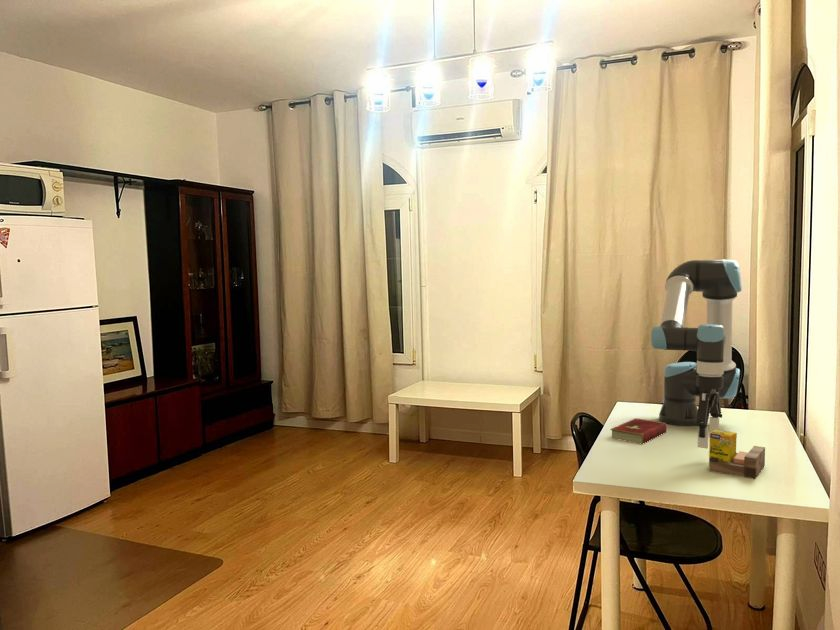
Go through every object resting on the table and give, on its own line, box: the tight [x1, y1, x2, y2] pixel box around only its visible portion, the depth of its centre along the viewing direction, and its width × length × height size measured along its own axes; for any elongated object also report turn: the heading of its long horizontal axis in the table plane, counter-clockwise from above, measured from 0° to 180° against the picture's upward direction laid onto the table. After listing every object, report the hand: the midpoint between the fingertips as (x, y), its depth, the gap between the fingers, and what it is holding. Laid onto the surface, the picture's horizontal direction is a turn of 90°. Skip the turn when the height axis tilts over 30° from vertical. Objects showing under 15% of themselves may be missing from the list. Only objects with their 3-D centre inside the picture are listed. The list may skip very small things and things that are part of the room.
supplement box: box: [708, 429, 737, 463], centre depth 194 cm, size 6×6×11 cm
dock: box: [708, 445, 766, 480], centre depth 193 cm, size 14×12×6 cm
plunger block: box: [733, 451, 748, 464], centre depth 192 cm, size 8×3×4 cm, turn 142°
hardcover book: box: [610, 418, 668, 445], centre depth 232 cm, size 12×21×4 cm, turn 137°
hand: (708, 442), depth 197 cm, fingers open, 13 cm apart
